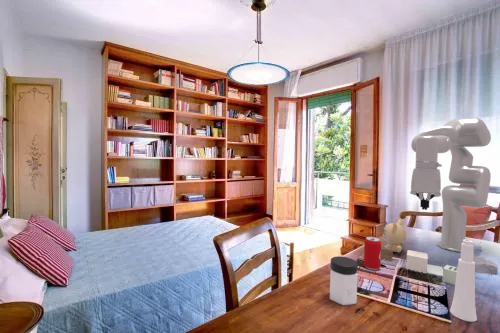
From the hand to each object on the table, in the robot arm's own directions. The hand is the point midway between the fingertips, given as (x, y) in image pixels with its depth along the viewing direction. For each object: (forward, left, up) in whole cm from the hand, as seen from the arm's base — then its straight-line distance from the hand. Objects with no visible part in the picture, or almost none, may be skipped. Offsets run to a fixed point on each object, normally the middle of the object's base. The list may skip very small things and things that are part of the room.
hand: (424, 209), depth 111 cm
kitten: (-10, -12, -24) cm, 29 cm away
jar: (+49, -16, -24) cm, 57 cm away
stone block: (-12, +18, -24) cm, 32 cm away
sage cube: (+11, +11, -24) cm, 28 cm away
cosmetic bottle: (+35, +14, -24) cm, 44 cm away
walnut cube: (+3, -13, -24) cm, 27 cm away
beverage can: (+18, -15, -24) cm, 34 cm away
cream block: (+6, -1, -24) cm, 25 cm away
